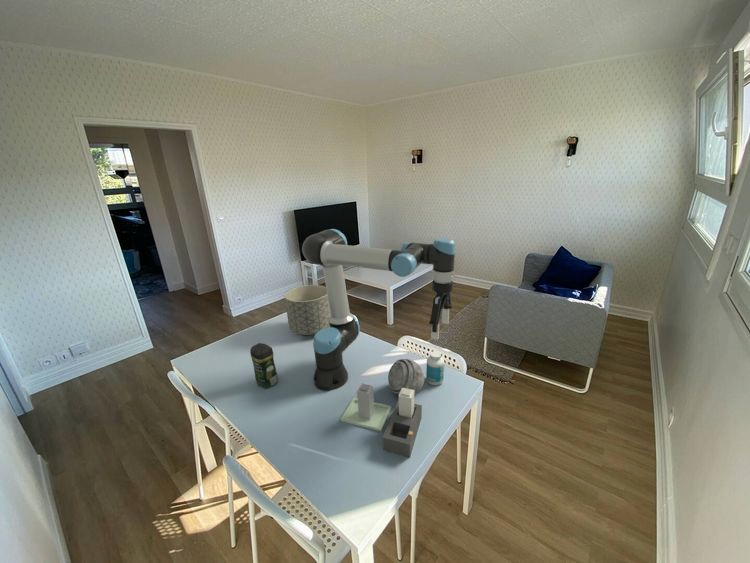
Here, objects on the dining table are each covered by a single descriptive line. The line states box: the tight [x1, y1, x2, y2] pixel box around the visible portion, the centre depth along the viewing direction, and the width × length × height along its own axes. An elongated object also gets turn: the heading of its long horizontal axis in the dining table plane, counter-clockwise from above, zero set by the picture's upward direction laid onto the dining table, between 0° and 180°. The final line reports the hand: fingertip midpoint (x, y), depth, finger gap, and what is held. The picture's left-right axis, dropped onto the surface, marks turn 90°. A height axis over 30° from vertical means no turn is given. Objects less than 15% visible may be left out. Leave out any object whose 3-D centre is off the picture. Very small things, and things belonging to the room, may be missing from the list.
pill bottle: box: [425, 350, 445, 386], centre depth 132 cm, size 8×7×14 cm
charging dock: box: [382, 388, 423, 458], centre depth 105 cm, size 9×18×15 cm, turn 160°
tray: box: [340, 397, 392, 433], centre depth 116 cm, size 16×12×2 cm
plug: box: [356, 382, 375, 420], centre depth 114 cm, size 4×4×13 cm
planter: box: [284, 284, 331, 336], centre depth 178 cm, size 25×25×24 cm
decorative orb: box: [387, 358, 425, 396], centre depth 125 cm, size 15×14×15 cm
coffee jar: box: [249, 342, 279, 389], centre depth 134 cm, size 10×8×19 cm
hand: (440, 330), depth 122 cm, fingers open, 13 cm apart
